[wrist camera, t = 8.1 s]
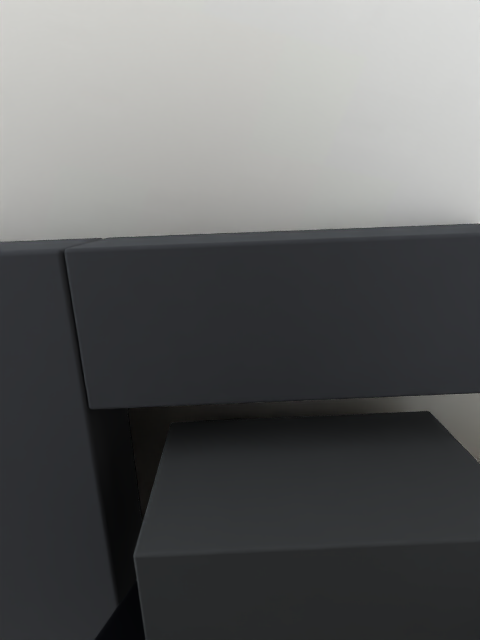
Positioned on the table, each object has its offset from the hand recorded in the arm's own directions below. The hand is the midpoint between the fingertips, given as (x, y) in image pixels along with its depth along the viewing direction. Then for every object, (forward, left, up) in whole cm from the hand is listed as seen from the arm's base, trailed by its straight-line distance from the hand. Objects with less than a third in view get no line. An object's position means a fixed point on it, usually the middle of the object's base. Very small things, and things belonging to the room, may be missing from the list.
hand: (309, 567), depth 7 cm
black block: (0, 0, -1) cm, 1 cm away
